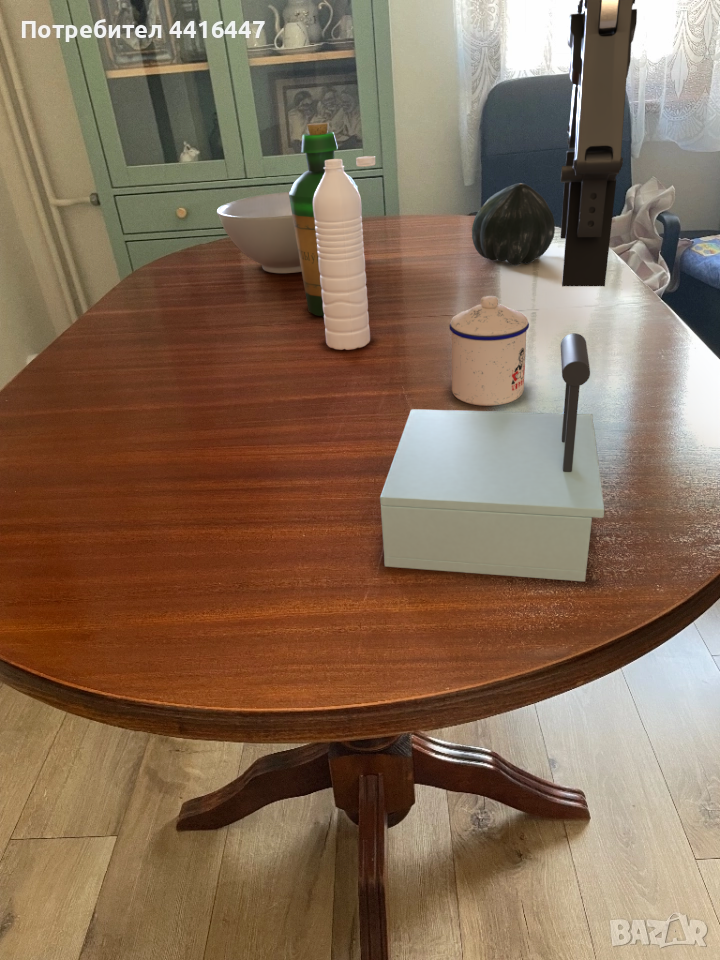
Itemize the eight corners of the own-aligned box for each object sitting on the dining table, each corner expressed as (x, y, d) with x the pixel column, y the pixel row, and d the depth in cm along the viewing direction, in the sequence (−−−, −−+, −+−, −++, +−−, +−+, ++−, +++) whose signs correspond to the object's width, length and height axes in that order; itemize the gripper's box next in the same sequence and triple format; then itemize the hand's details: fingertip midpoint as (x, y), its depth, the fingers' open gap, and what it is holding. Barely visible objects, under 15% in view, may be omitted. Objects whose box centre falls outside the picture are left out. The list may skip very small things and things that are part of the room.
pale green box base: (577, 477, 70) (582, 421, 67) (585, 581, 57) (592, 518, 54) (413, 470, 74) (411, 416, 71) (384, 566, 60) (380, 506, 57)
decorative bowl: (201, 270, 150) (190, 209, 144) (303, 243, 164) (297, 186, 158) (279, 292, 132) (270, 223, 126) (385, 259, 147) (382, 196, 141)
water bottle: (322, 350, 105) (303, 163, 92) (331, 335, 110) (314, 156, 97) (381, 350, 103) (371, 160, 90) (388, 334, 109) (378, 153, 96)
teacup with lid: (529, 406, 84) (534, 308, 78) (450, 408, 85) (449, 312, 79) (519, 367, 94) (523, 277, 88) (449, 369, 95) (448, 281, 90)
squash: (491, 218, 147) (478, 167, 134) (565, 223, 141) (560, 170, 128) (472, 279, 144) (457, 233, 131) (547, 287, 138) (539, 239, 125)
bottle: (299, 305, 125) (278, 124, 110) (360, 297, 126) (347, 118, 112) (306, 324, 115) (284, 130, 101) (371, 315, 117) (359, 123, 102)
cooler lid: (591, 421, 67) (602, 312, 62) (603, 518, 54) (618, 390, 48) (411, 416, 71) (407, 313, 65) (380, 505, 57) (372, 385, 52)
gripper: (548, -72, 54) (532, 223, 65) (545, -138, 33) (522, 311, 44) (655, -84, 53) (620, 221, 63) (721, -161, 32) (653, 312, 43)
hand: (580, 259), depth 54 cm, fingers open, 13 cm apart
